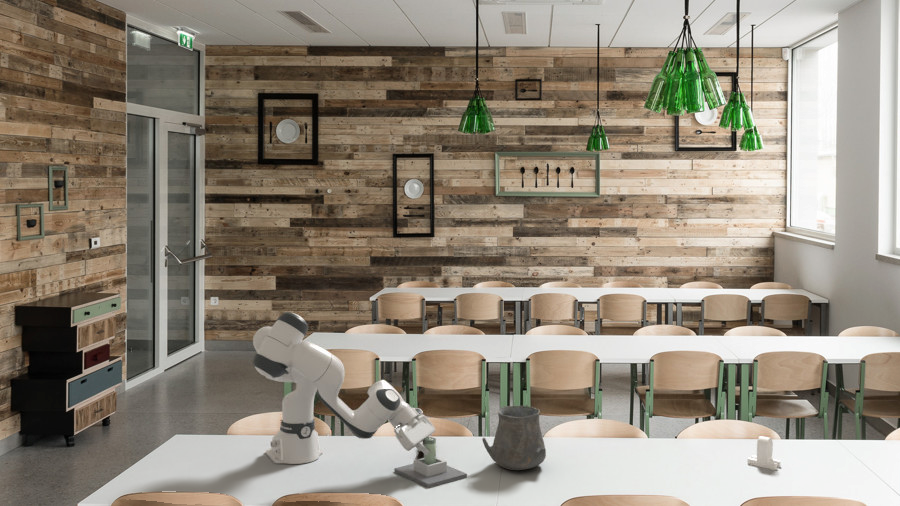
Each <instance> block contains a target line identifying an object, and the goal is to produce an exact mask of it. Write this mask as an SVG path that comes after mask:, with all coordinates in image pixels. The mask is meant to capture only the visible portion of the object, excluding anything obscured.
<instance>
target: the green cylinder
mask: <svg viewBox="0 0 900 506" xmlns="http://www.w3.org/2000/svg"><path fill="white" fill-rule="evenodd" d="M436 441H437V439H436V438H435V437H432V436H431V437H428V438H425V439H424V446H425V447H426V448H427V447H428V448H429V450H430V453H429V454H427V455H425V454H424V463H425V464H427V465H430V464H434V463H436V457H437V445H436V444H437V442H436Z"/></svg>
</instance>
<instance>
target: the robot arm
mask: <svg viewBox="0 0 900 506" xmlns="http://www.w3.org/2000/svg"><path fill="white" fill-rule="evenodd" d="M308 330H309V326H308V323H307V322H306V320H305V319H304V318H303V317H302V316H301V315H299V314H297V313H294V312H291V311H286V312H283V313H282V314H281V315H280V316H278V317H277V319H276V321H275V322H274V323H273V325H272V326H268V325H267V326H263V327H261V328H259V329H258V330H257V331H256V332H255V333H254V335H253V336H252V337H253V339H252V345H253V347H254V349H255V351H256V353H255V354H254V356H253V359H252V366H253V367H254V368H255V370H256V371H257V372H258V373H259V374H260V375H261V376H264V377H265V378H266V379H268V380H271V381H274V382H280V383H295V384H296V385H295V389H294V390H293V391H291V392H289V393H287V394H286V395H285V396H283V399H282V403H281V405H282V407H281V409H282V411H281V412H282V419H280V420H279V421H280V428H279V431H277V433H276V434H274V436H273V437H272V440H270V448H267V449H265V454H266V455H267V457H269V459H270V460H271V461H272V462H273V463H274V464H287V465H288V464H289V465H297V464H298V465H299V464H307V463H312V462H314V461H316V460H317V459H319V457H320V455H323V450H321V449H320V444H319V443H320V442H319V441H320V440H319V434H318V431H316V430H315V429H316V421H315V418H314V407H315V405H314V401H315V396H316V395H317V398H319V400H320V401H321V403H322V404H323V405H324V406H325V407H327V409H328V410H329V411H330V412H332V413H333V414H334V415H335V416H336V417H337V418H338V419H339V420H340V421H341V422H342V423H343V424H344V425H345V426H346V427H347V429H348V430H349V431H350V432H351V434H353V435H354V437H357V439H363V440H365V439H372V437H373V436H375V435H374V434H376V433H377V431H378V430H379V428H381V426H383V425H384V424H385V422H387V421H388V422H389V423H390V425H391V426H392V427H393V429H394V431H393V432H394V434H395V437H396V439H397V440H398V442H399V443H400V445H401V446H402V447H403V449H405V450H406V451H408V452H410V451H411V450H412V449H414V448H416V449H417V450H418V451H422V452H423V453H424V454H425V455H427V454H429V453H430V450H429V448H428V447H427V448H426V447H425V446H424V445H422V444H423V441H424V439H425V438H428V437H432V435H434V433H435V432H436V428H435V426H434V425H433V423H432V422H431V421H430V419H429V418H428V417H427V416H426V415H425V414H423V413H424V411H423V410H422V409H421V408H417V407H411V405H410V404H409V403H407V402H406V401H405V400H404V399H403V397H402V395H401V394H400V393H399V392H398V391H397V390H396V388H394V386H393V385H391V384H390V383H389V382H388V381H387V380H385V379H379V380H377V381H376V382H374V383H373V384H372V385H370V387H369V388H368V389H367V395H368V398H367V399H366V400H365V401H364V402H363V403H362V404H361V405H360V406H359V407H358V408H357V409H351V408H350V407H349V406H348V405H347V404H346V403H345V402H344V401H343V399H341V398H339V393H340V390H341V388H342V386H343V383H344V380H345V374H346V372H345V369H346V368H345V365H344V364H343V362H342V361H341V359H340V358H338V356H336V355H334V354H333V353H331V352H330V351H329V350H327V349H325V348H323V347H321V346H319V345H317V344H315V343H314V342H311V341H309V340H304V338H305V337H306V336H307V333H308Z"/></svg>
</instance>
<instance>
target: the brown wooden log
mask: <svg viewBox="0 0 900 506" xmlns="http://www.w3.org/2000/svg"><path fill="white" fill-rule="evenodd" d="M422 443H423V444H422V445H424V441H422ZM421 458H424V453H423V452H422V451H420V450H418V452H417V459H421Z"/></svg>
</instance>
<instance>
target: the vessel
mask: <svg viewBox="0 0 900 506" xmlns="http://www.w3.org/2000/svg"><path fill="white" fill-rule="evenodd" d="M540 412H541V410H540V409H539V408H536V407H533V406H528V405H507V406H502V407H499V408H498V409H497V415H498V424H497V428H496V432H495V435H494V438H493V443H492V445H491V446H490V445H489V443H488V441H487V439H486V438H485V437H482V439H481V440H482V443H483V446H484V448H485V449H486V452H487V454H488V455H489V456H490V459H492V461H493V462H494V463H496V464H497V465H498V466H500V467H502V468H504V469H506V470H510V471H524V470H529V469H533V468H536V467H538V466H539V465H541V464H543V462H544V461H545V459H546V457H547V452H546V451H547V450H546V445H545V441H544V437H543V434H542V429H541V425H540Z"/></svg>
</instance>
